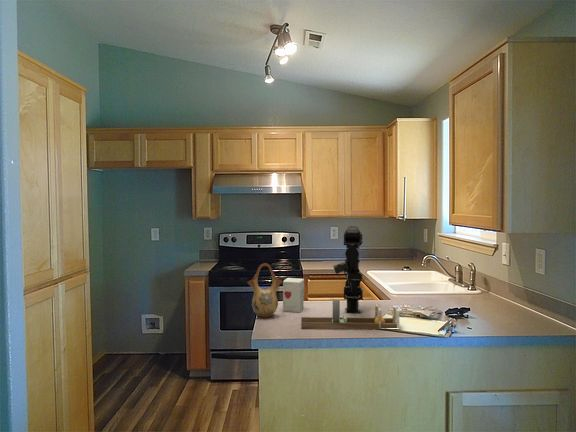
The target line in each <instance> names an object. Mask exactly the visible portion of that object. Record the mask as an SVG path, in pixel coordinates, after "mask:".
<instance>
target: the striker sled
mask: <svg viewBox="0 0 576 432" xmlns="http://www.w3.org/2000/svg"><path fill="white" fill-rule="evenodd" d="M340 307H341V301H340V299H332V317H333V319H332V323H347V318H348V317H347V315H346V314H342V318H343V319H340V318H341V317H340V316H341V314H340V311H341V310H340V309H341V308H340Z"/></svg>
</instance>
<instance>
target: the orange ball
mask: <svg viewBox="0 0 576 432" xmlns="http://www.w3.org/2000/svg"><path fill="white" fill-rule="evenodd" d="M374 318H375V317H374ZM384 318H385V317H383V316H381V323H385V320H384ZM374 322H375V323H378V317H376V318H375V321H374Z"/></svg>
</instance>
